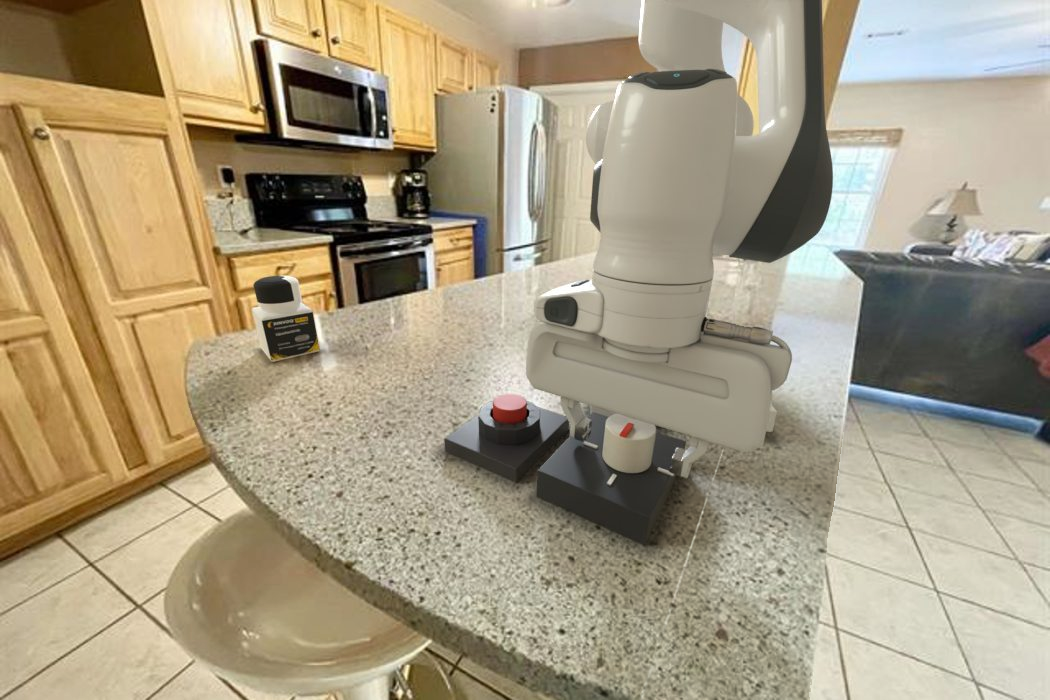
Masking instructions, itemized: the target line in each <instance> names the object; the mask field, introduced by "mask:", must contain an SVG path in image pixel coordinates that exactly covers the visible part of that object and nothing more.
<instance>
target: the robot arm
mask: <svg viewBox="0 0 1050 700" xmlns="http://www.w3.org/2000/svg"><path fill="white" fill-rule="evenodd" d="M640 6H641V7H640V17H639V18H640V19H639V30H638V49H639V52H640V54H641V56H642V57H643V59H644V60H645V62H647V63H648V64H649V65H651V66H652V67H653V68H655V69H657V71H652V72H651V71H642V72H638V73H635V74H632V75H630V76H629V77H627V78H626V79H624V80H623V81H622V82H619V84H618V86H617V89H616V92H615V95H614V99H613V100H610V101H606V102H603V103H600V104H599V105H598V106H597V107H596V108H595V110H594V111H593V113H591V116H590V118H589V121H588V123H587V126H586V131H585V144H586V149H587V152H588V155H589V157H590V159H591V160H592V161H593V163H594V164H595V166H594V167H593V172H592V173H593V174H592V185H591V186H592V187H591V198H590V199H591V200H590V213H589V220H590V222H591V224H592V225H593V226H594V227H595V228H596V230H597V231H598V232H599V233H600V238H599V243H598V244H599V245H598V248H597V252H596V253H595V256H594V259H593V263H592V271H591V272H592V274H591V278H590V279H584V280H579V281H574V282H571V283H567V284H564V285H561V286H558V287H556V288H553V289H551V290H549V291H546V292H544V293H543V294H541V295H539V296H537V297H536V298H535V299H534V304H533V314H534V317H535V319H536V320H537V322H535V323H534V324H533V326H532V327H531V330H530V332H529V335H528V341H527V348H526V357H525V360H526V362H525V373H526V374H525V375H526V378H527V380H528V382H529V383H530V385H531V387H532V388H533V389H535V390H537V391H542V392H545V393H548V394H551V395H555V396H559V397H560V403H559V404H560V405H559V406H560V407H561V409H562V411H563V413H564V416H566V417H567V419H568V421H569V437H571V438H574V439H576V440H579V441H582V442H585V441H586V439H587V438H589V436H590V434H591V428H590V427H591V426H592V419H589V418H588V417H586V416H585V414H584V411H583V408H582V406H581V404H585V405H587V406H590V407H591V406H594V407H597V408H600V409H604V410H607V411H610V412H613V413H617V414H620V415H623V416H627V417H630V418H633V419H636V420H640V421H643V422H646V423H649V424H653V425H655V427H660V428H662V429H667V430H670V431H673V432H675V433H679V434H683V435H686V436H689V437H690V438H689V446H688V448H685V449H682V448H679V447H677V448H676V450H675V453H674V454H673V456H672V459H671V467H670V470H669V472H670V473H673V474H676V475H677V477H681V478H684V479H688V477H689V475H690V472H691V469H692V465H693V463H694V462H696V461H697V460H698V459H699V458H701V457H702V456H703V455H705V454H706V453H707V452H708V450H709V449H710V444H712V443H713V444H716V445H718V446H722V447H725V448H728V449H731V450H735V451H738V452H741V453H745V454H749V453H751V452H754V451H756V450H757V449H759V448H761V447H762V446H763V445H764V443H765V439H766V434H767V431H766V430H767V425H768V420H769V414H770V406H771V405H772V396H773V391H775V390H777V389H778V388H780V387H782V386H783V385H784V383H785V382H786V381H787V379H788V375H789V373H790V369H791V365H792V361H793V353H792V351H791V348H790V346H789V345H788V344H787V342H785V340H783V339H781V338H780V337H779V336H777V335H774V331H773V330H771V329H769V328H765V327H760V326H752V327H751V326H744V325H740V324H737V323H734V322H730V321H725V320H719V319H714V318H708V317H707V312H708V308H709V307H708V306H709V301H710V296H711V291H712V285H713V280H714V274H715V267H714V258H713V257H714V256H713V255H717V256H728V257H729V258H734V259H740V260H746V261H754V262H760V263H767V264H771V263H774V262H776V261H779V260H781V259H783V258H784V257H786V256H788V255H790V254H792V253H794V252H795V251H797V250H798V249H800V248H801V247H803V246H805V244H807V243H809V241H811V240H812V239H813V238H814V237H816V236H817V235H818V234H819V232H820V231H821V230H822V228H823V226H824V224H825V222H826V220H827V217H828V214H829V210H830V206H831V202H832V195H833V187H834V171H833V170H834V169H833V168H834V166H833V160H832V159H833V158H832V154H831V153H832V152H831V146H830V141H829V136H828V130H827V124H826V123H827V122H826V106H825V74H824V73H825V70H824V68H825V67H824V34H823V33H824V30H823V25H824V24H823V21H824V20H823V0H641V5H640ZM724 24H726V25H729V26H730V27H732V28H733V29H736V30H737V31H739V32H740V33H741V34H743V35H744V37H746V39H748V41H749V42H750V43H751V45H752V47H753V49H754V51H755V56H756V70H757V71H756V73H757V101H758V103H757V104H758V131H759V133H758V134H754V135H753V133H754V128H755V125H754V124H755V121H754V115H753V112H752V108H751V107H750V105H749V104H748V102H747V101H746V100H745V99H744V98H743V97H742V96H741V95H740V94H739V93H738V82H737V79H736V78H735V77H733V75H731V74H729V73H727V72H726V69H725V65H724V60H723V54H722V53H723V50H722V48H723V47H722V44H723V43H722V41H723V29H724ZM771 342H773V343H775V344H771Z"/></svg>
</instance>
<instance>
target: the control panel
mask: <svg viewBox="0 0 1050 700" xmlns="http://www.w3.org/2000/svg"><path fill="white" fill-rule="evenodd" d="M587 418H589V419H592V426H591V427H590V428H591V434H590V436H589V438H587V439H586V441H585V442H582V441H579V440H576V439H574V438H571V437H570V436H569V437H568V438H567V439H566V440H565V441H563V443H562V444H561V445H560V446H559V447H558V448H557V449H556V450H555V451H554V453H553V454H552V455H551V456H550V457H549V458H548V459H546V461H545V462H544V463H543V464H542V465H541V466H540V467H539V468H538V469H537V471H536V472H537V473H536V474H537V475H536V498H538V499H540V500H543V501H545V502H547V503H548V504H551V505H554V506H555V507H558V508H561V509H562V510H565V511H567V512H569V513H571V514H573V515H576V516H577V517H580V518H581V519H584V520H586V521H589V522H590V523H593V524H595V525H598V526H600V527H602V528H604V529H607V530H609V531H611V532H613V533H615V534H617V535H620V536H621V537H624V538H626V539H628V540H631V541H633V542H635V543H638V544H639V545H642V546H646V544H647V543H648V540H649V538H650V535H651V534H652V531H653V529H654V527H655V525H656V522H657V521H658V518H659V516H660V513H661V512H662V510H663V508H664V505H665V503H666V500H667V499H668V497H669V494H670V493H671V490H672V488H673V486H674V483H675V481H676V479H677V477H678V475H676V474H673V473H670V472H669V470H670V467H671V459H672V456H673V454H674V453H675V450H676V448H677V447H679V448H682V449H685V450H686V445H687V441H686V440H684V439H681V438H678V437H675V436H671V435H668V434H665V433H662V432H658V431H656V436H655V442H654V449H653V455H652V461H651V465H650V467H649V468H648V469H647V470H645V471H643V472H640V473H625V472H621V471H618V470H615V469H613V468H612V467H610V466H609V465H608V464H607V463H606V462H605V461H604V459H603V456H602V453H603V443H604V434H605V424H606V420H607V419H608V418H609V417H607V416H604V415H601V414H598V413H595V412H592V414H591V413H590V414H589V415H588V417H587Z"/></svg>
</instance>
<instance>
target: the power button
mask: <svg viewBox="0 0 1050 700" xmlns="http://www.w3.org/2000/svg"><path fill="white" fill-rule="evenodd" d="M492 401H493V418H494V419H495V421H498V422H501V423H510V424H515V423H518V422H522V421H524V420H525V419H526V416H527V401H528V400H527V399H526V398H525V397H524V396H522V395H520V394H516V393H504V394H500V395H497V396H496V397H494V398H493V400H492Z"/></svg>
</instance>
